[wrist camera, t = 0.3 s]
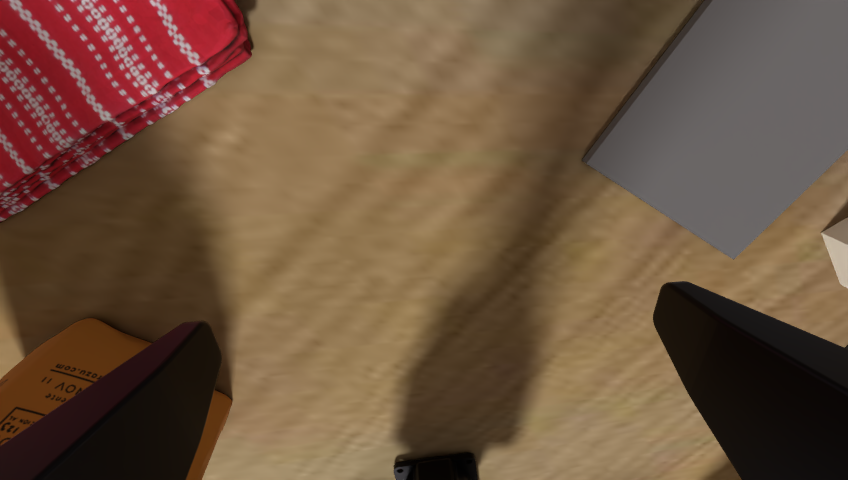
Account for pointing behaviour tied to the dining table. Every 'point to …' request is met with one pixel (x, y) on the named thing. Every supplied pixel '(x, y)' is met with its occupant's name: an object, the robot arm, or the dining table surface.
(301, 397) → the dining table surface
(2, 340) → the dining table surface
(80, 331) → the coffee package
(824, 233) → the box
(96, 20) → the dish towel
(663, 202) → the placemat
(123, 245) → the dining table surface
